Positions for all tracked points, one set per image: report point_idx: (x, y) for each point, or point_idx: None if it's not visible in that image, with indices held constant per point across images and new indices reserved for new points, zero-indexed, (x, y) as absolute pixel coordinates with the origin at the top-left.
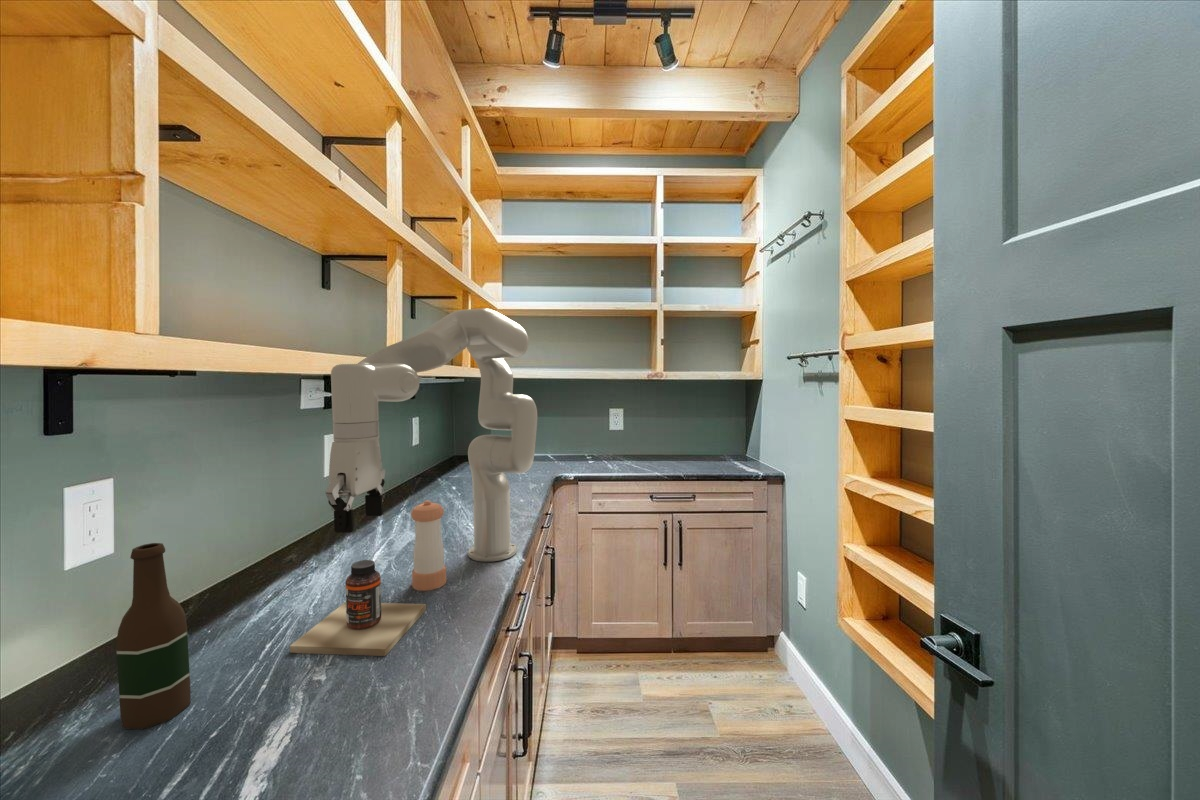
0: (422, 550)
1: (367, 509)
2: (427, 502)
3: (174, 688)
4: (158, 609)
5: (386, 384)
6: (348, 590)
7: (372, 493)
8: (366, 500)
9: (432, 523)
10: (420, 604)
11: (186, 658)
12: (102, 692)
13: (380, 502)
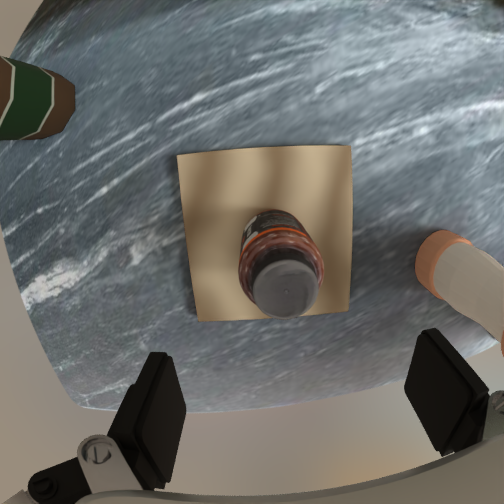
0: (462, 293)
1: (430, 358)
2: None
3: (25, 138)
4: None
5: None
6: (241, 252)
7: (466, 436)
8: (454, 387)
9: (500, 341)
10: (347, 302)
11: (20, 132)
12: (82, 7)
13: (428, 431)
